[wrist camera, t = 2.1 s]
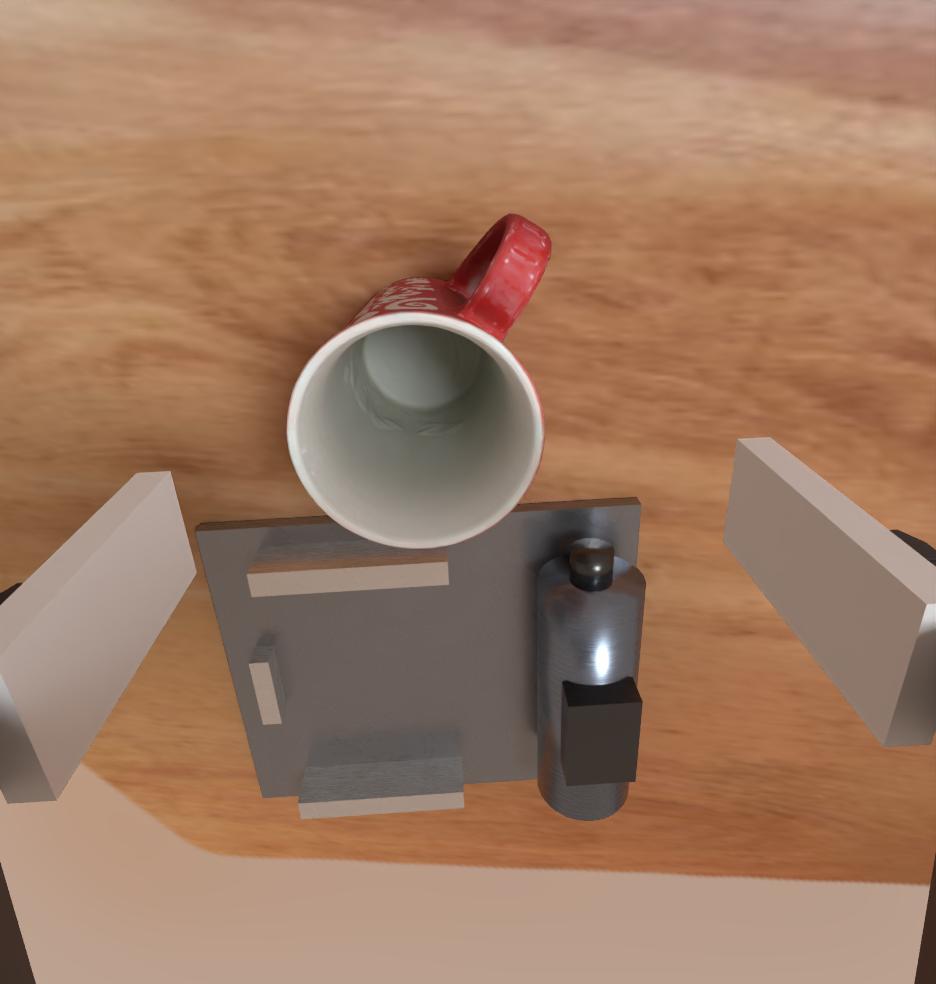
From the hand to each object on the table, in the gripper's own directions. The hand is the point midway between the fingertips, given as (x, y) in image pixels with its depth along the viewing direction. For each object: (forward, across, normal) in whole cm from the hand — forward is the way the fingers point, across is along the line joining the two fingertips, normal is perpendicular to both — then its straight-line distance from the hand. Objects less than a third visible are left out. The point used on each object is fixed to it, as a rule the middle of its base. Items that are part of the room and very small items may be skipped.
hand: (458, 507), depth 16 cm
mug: (+22, 0, 0) cm, 22 cm away
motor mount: (+21, -2, -22) cm, 31 cm away
